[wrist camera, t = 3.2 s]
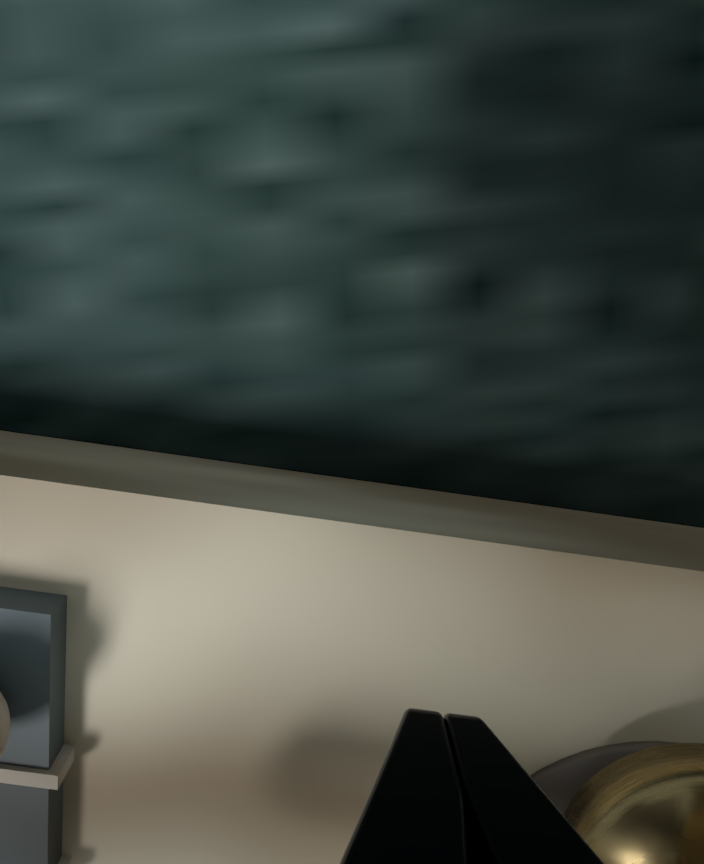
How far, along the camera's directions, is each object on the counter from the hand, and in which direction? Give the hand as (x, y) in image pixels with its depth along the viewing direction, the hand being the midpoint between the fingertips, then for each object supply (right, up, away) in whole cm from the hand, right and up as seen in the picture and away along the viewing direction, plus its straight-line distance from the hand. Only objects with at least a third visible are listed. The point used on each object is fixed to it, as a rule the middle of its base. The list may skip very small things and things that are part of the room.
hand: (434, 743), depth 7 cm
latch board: (+1, -4, +7) cm, 8 cm away
